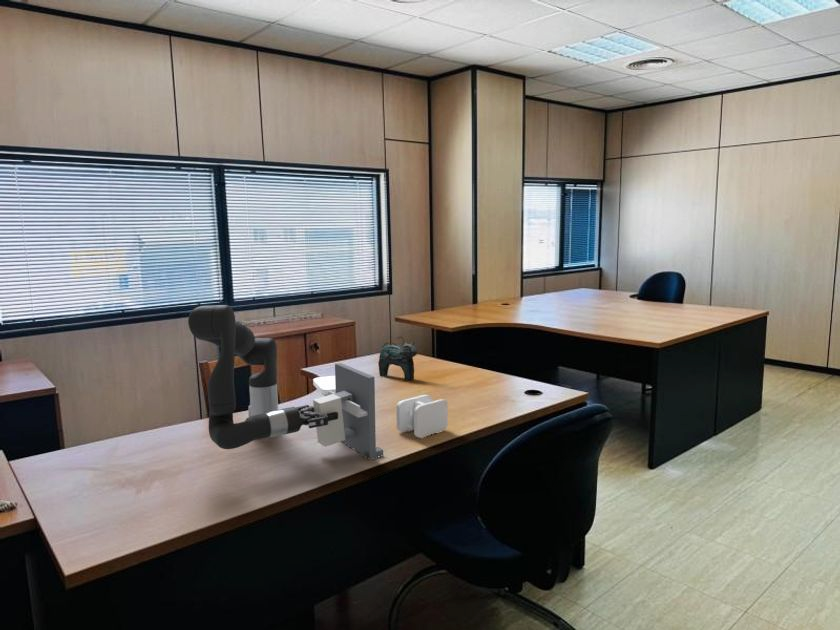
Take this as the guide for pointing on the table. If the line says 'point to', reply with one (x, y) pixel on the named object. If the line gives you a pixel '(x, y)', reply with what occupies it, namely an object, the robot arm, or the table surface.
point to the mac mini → (325, 384)
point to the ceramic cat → (398, 359)
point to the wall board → (358, 408)
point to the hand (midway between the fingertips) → (331, 411)
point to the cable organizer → (422, 415)
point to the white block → (335, 427)
